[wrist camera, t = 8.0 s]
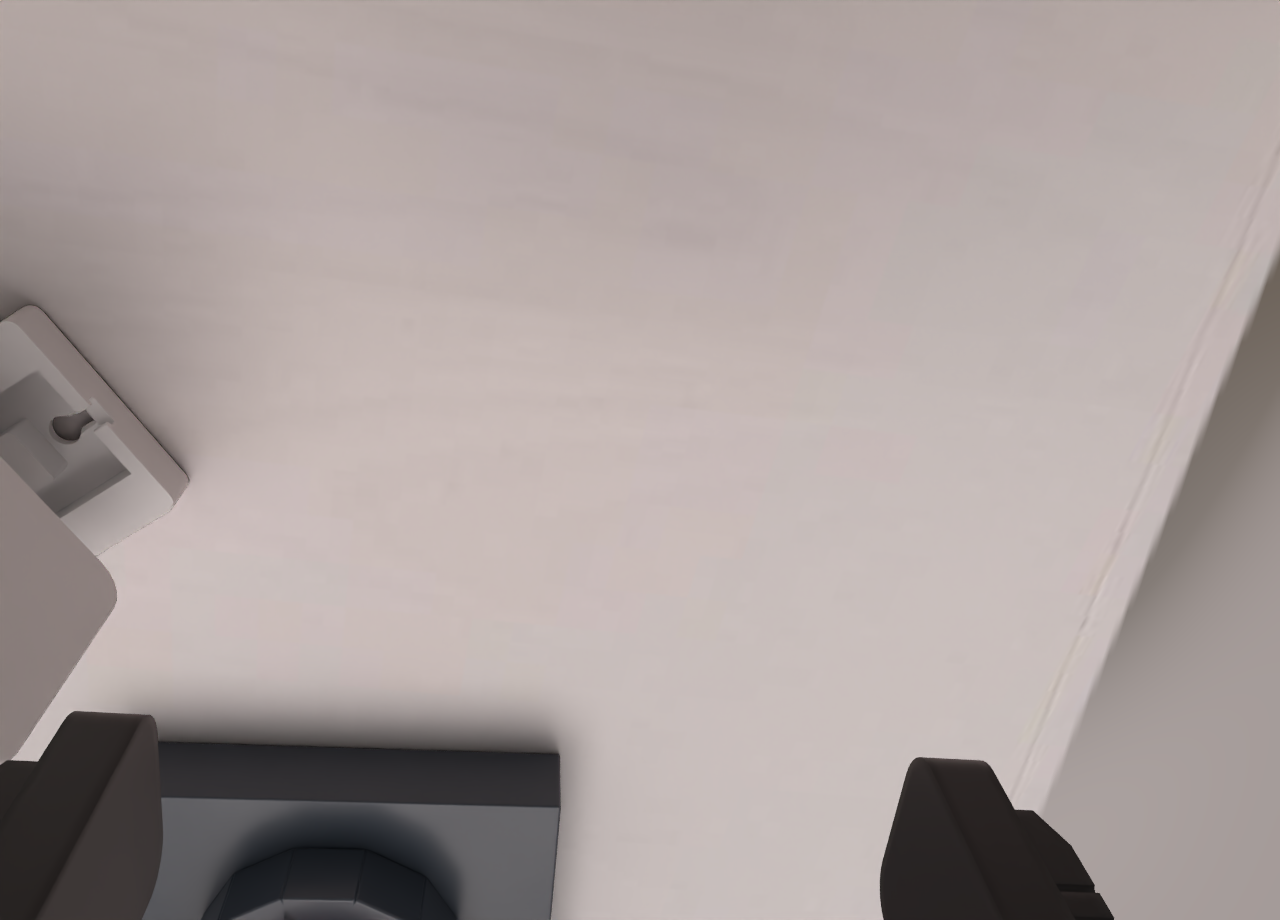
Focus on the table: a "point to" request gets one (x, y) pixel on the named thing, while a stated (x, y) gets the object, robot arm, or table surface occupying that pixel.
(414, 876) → the button box
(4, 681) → the security camera
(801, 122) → the table surface
